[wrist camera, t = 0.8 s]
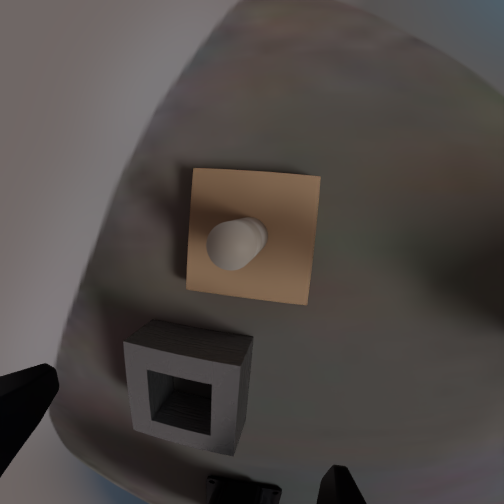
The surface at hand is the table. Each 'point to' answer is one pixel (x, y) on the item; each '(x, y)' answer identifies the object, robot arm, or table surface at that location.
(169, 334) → the hollow square frame
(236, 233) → the tan knobbed plate
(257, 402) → the table surface
